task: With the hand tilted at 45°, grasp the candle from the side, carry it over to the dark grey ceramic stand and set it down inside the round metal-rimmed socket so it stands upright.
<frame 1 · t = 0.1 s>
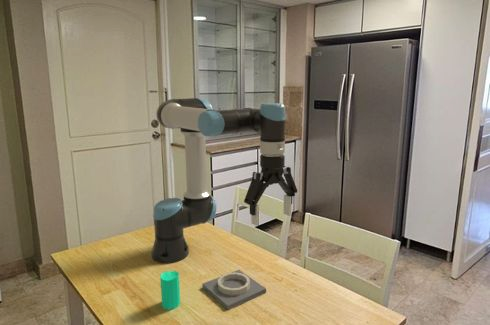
hand: (271, 219, 113), 28 cm above the table, fingers open, 13 cm apart
candle: (171, 304, 116), on the table
candle stand: (233, 289, 124), on the table
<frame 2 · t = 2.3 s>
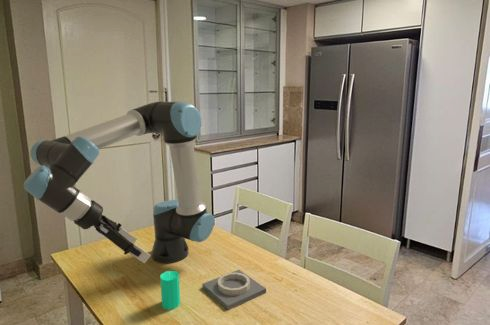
hand: (140, 250, 106), 22 cm above the table, fingers open, 13 cm apart
nothing on the table moved.
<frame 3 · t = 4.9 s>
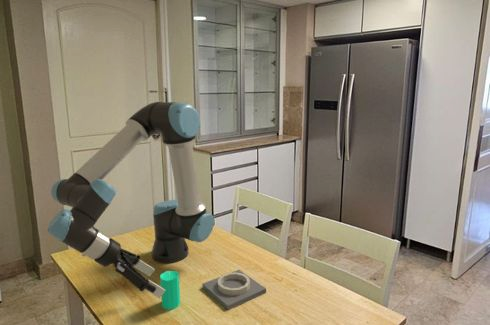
hand: (157, 282, 112), 9 cm above the table, fingers open, 13 cm apart
nothing on the table moved.
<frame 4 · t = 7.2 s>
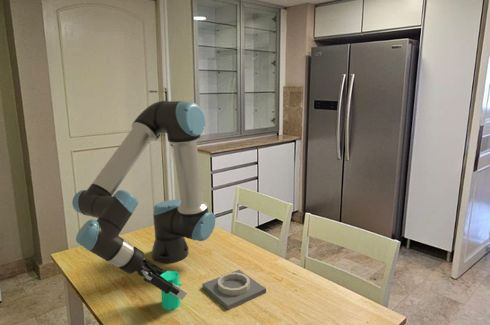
hand: (181, 291, 117), 3 cm above the table, fingers closed on candle, 5 cm apart
candle: (171, 304, 116), on the table, touching gripper
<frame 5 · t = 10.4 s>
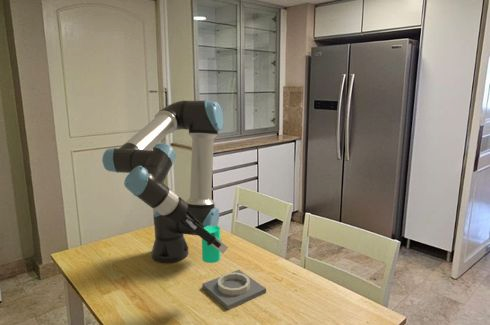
hand: (221, 246, 117), 18 cm above the table, fingers closed on candle, 5 cm apart
candle: (211, 259, 116), point 14 cm above the table, touching gripper
when the fingers open (5 cm above the table, at t = 13.9 s): candle stays where it is, resting on candle stand.
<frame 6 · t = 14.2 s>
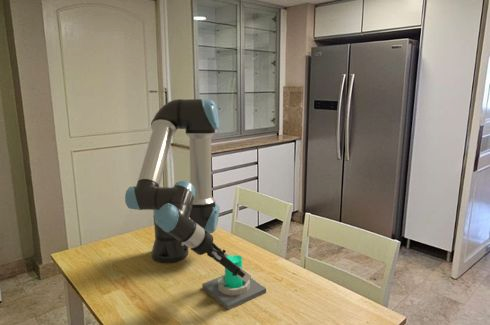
hand: (241, 272, 124), 6 cm above the table, fingers open, 9 cm apart
candle: (233, 286, 123), point 1 cm above the table, touching candle stand
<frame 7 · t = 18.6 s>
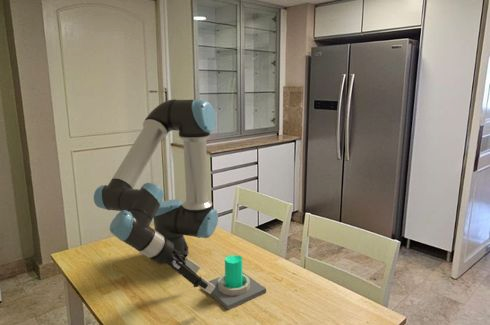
hand: (204, 279, 118), 7 cm above the table, fingers open, 13 cm apart
nothing on the table moved.
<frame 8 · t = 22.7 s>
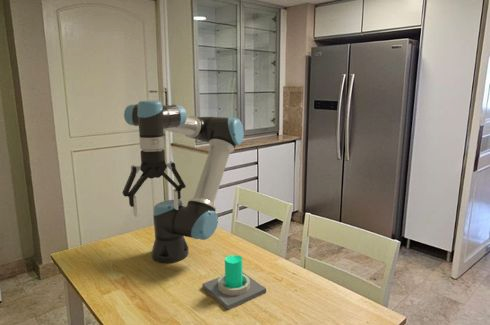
hand: (156, 212, 118), 29 cm above the table, fingers open, 13 cm apart
nothing on the table moved.
at the end: candle 0.0 cm off-centre on the candle stand, point 1.3 cm above the candle stand's base; candle tilted 0°; the gripper is holding nothing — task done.
